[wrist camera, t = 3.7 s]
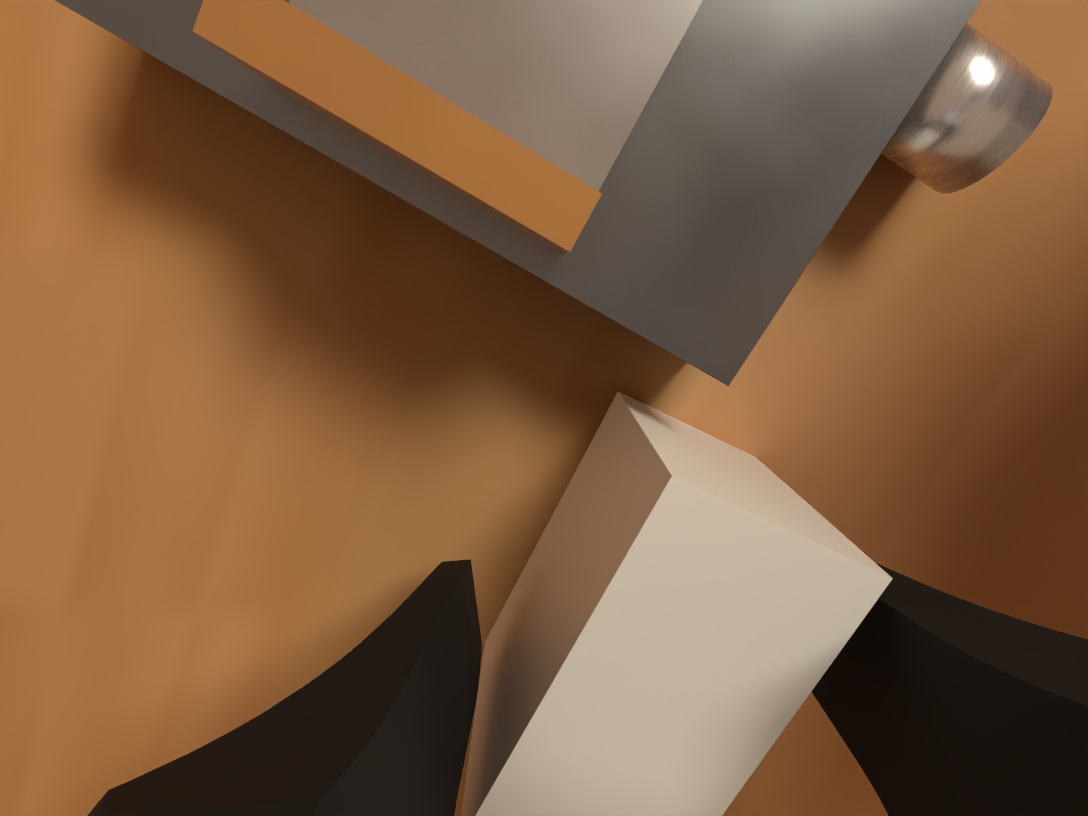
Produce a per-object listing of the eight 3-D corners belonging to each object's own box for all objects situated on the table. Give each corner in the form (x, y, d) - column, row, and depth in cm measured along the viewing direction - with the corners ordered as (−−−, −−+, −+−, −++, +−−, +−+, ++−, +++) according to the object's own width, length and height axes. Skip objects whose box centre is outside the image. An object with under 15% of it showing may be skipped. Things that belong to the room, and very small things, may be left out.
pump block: (754, 455, 12) (892, 578, 8) (610, 690, 14) (649, 915, 9) (617, 390, 12) (672, 475, 7) (484, 639, 14) (456, 848, 9)
